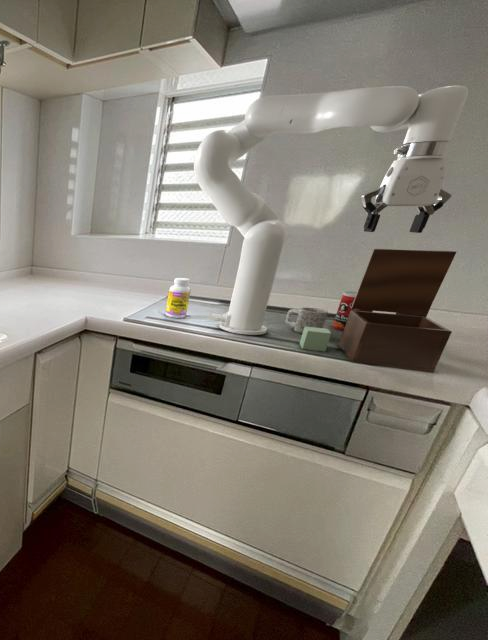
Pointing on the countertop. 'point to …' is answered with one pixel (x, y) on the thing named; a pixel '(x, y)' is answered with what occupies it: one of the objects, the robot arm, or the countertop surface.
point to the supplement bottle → (178, 298)
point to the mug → (307, 318)
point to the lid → (402, 280)
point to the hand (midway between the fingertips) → (391, 232)
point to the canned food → (345, 310)
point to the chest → (394, 340)
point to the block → (315, 338)
